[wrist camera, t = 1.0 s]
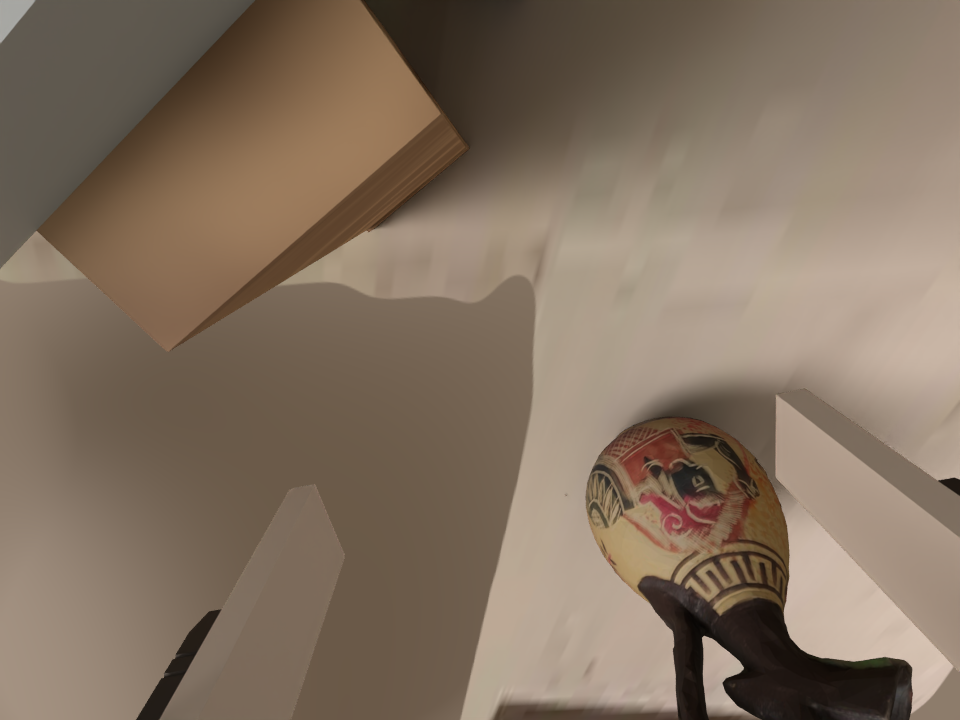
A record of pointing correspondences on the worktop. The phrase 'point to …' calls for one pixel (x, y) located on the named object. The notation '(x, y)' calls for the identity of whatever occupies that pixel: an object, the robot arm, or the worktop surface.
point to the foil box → (85, 89)
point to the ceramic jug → (723, 574)
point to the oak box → (255, 166)
